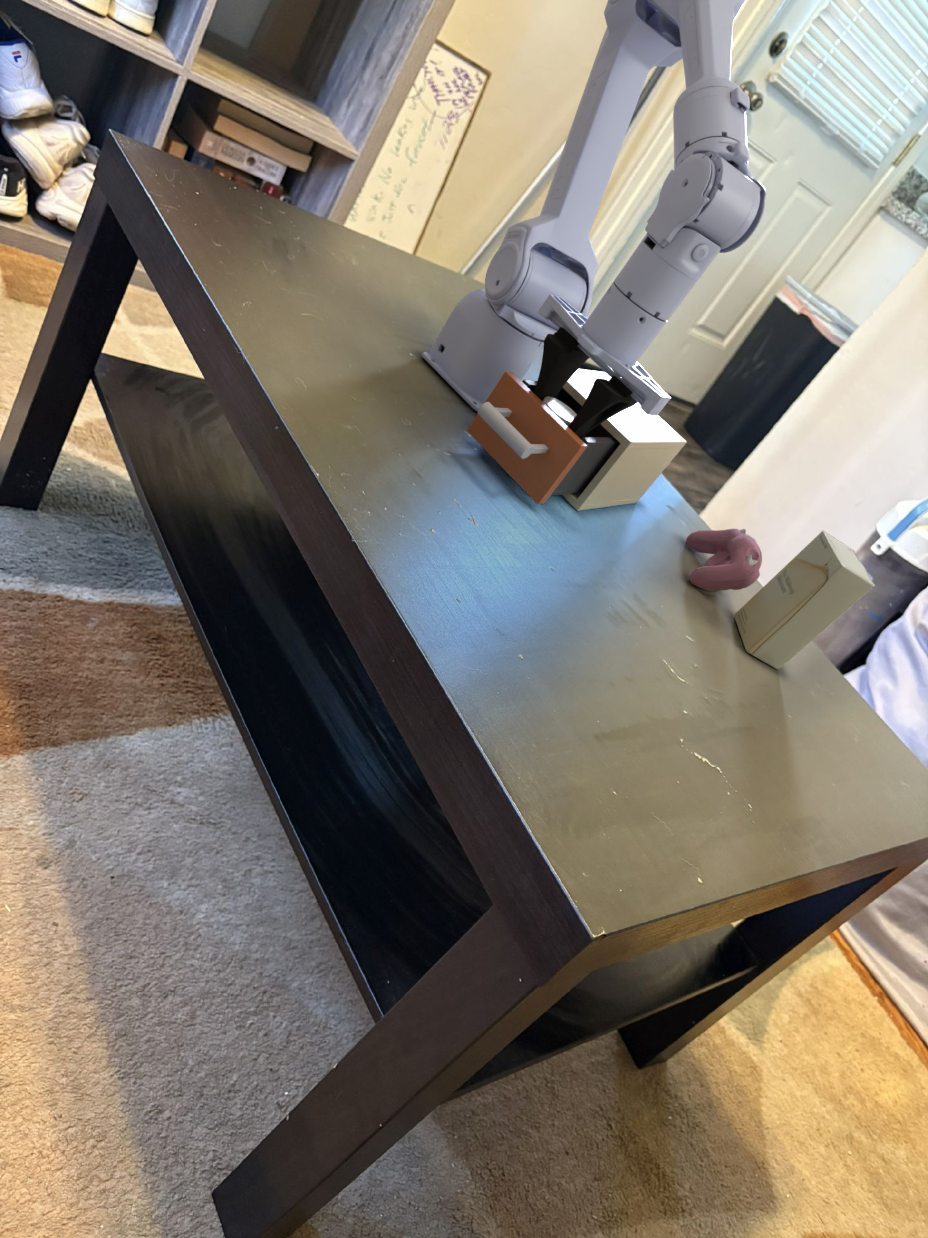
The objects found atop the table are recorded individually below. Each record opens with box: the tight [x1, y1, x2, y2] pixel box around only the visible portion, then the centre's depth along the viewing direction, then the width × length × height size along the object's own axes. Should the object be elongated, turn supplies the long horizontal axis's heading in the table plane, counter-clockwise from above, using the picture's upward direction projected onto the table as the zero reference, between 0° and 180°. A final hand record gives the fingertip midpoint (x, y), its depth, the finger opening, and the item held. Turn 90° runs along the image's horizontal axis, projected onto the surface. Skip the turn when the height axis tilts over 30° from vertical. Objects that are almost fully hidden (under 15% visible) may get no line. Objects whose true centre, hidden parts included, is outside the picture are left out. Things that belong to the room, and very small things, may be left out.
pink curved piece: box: [685, 528, 763, 592], centre depth 91 cm, size 10×5×7 cm, turn 168°
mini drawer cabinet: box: [560, 368, 688, 512], centre depth 91 cm, size 14×12×9 cm
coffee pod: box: [542, 397, 577, 426], centre depth 81 cm, size 4×4×4 cm
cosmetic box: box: [733, 530, 876, 670], centre depth 83 cm, size 6×4×12 cm
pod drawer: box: [466, 371, 621, 505], centre depth 82 cm, size 17×10×7 cm, turn 137°
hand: (549, 427), depth 81 cm, fingers closed on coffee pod, 4 cm apart
